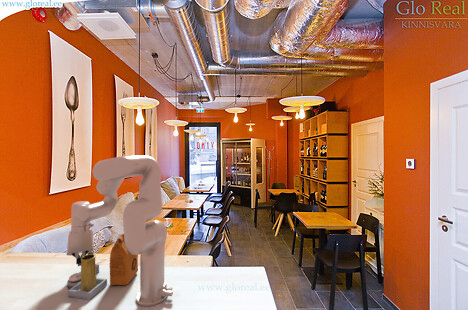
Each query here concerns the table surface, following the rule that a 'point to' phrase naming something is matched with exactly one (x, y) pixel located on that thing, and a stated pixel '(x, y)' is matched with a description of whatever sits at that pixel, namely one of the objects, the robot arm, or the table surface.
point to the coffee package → (122, 263)
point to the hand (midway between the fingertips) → (80, 264)
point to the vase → (88, 273)
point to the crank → (76, 275)
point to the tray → (76, 292)
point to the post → (97, 268)
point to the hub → (71, 284)
